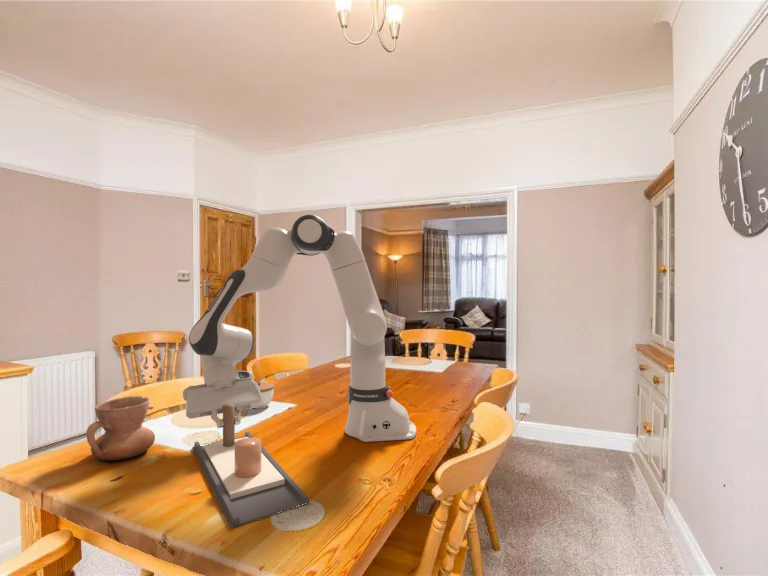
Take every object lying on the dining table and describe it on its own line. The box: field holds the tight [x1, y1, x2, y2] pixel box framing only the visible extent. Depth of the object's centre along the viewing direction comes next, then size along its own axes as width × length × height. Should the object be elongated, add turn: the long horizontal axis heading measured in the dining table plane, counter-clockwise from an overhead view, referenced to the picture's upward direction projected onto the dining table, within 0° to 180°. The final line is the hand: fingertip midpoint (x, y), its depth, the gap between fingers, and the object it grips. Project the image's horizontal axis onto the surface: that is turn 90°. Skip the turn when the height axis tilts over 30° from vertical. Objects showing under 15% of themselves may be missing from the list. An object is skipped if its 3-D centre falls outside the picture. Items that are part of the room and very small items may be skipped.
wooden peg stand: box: [203, 403, 285, 499], centre depth 102 cm, size 30×12×12 cm, turn 34°
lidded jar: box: [255, 380, 275, 410], centre depth 151 cm, size 11×11×9 cm
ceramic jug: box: [86, 395, 156, 461], centre depth 109 cm, size 18×14×14 cm
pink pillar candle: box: [234, 437, 262, 478], centre depth 96 cm, size 6×6×7 cm
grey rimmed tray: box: [192, 431, 310, 529], centre depth 100 cm, size 44×16×2 cm, turn 34°
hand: (229, 425), depth 111 cm, fingers closed on wooden peg stand, 3 cm apart
